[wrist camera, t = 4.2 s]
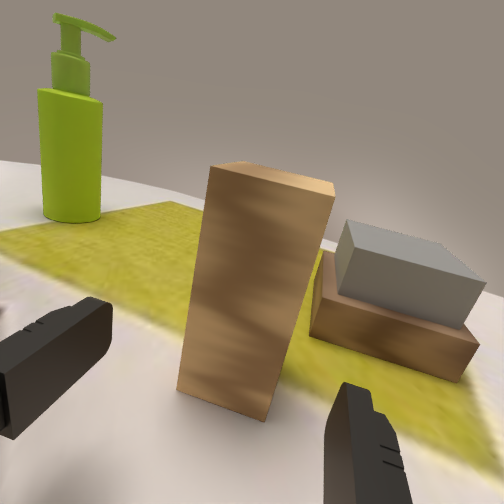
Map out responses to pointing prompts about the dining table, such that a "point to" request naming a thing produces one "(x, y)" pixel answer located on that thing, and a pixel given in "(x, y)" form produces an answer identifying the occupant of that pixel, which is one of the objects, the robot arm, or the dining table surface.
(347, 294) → the gray slab
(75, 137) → the soap dispenser
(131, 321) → the dining table surface
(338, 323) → the walnut slab
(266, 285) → the oak pillar
